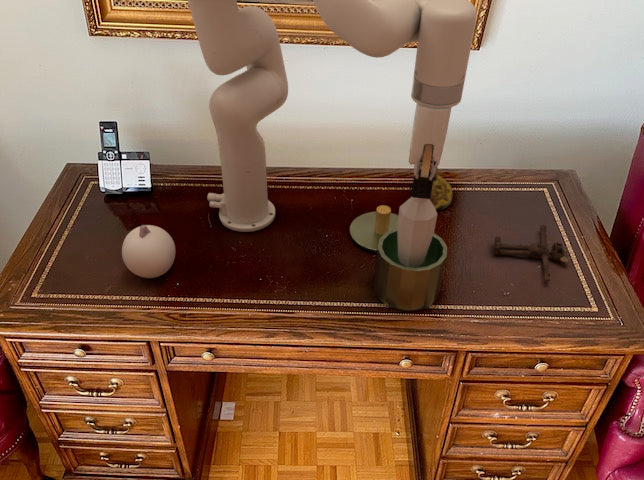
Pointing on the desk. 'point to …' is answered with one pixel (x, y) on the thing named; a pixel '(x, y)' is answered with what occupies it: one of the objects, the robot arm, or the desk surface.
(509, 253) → the brown thin branching figure
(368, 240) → the lid
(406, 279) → the tin
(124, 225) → the desk surface
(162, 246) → the ornament
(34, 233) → the desk surface
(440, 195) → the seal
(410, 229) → the low poly bottle
